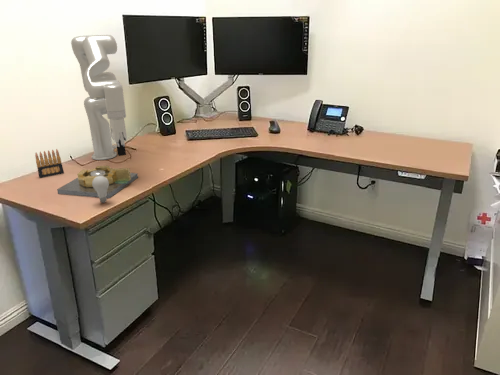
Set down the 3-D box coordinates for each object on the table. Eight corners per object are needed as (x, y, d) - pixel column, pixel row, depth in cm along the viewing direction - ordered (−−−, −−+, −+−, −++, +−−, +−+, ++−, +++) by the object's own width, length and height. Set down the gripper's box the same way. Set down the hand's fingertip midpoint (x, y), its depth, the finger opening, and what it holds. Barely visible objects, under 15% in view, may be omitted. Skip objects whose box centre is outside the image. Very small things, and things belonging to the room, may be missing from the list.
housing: (91, 174, 197) (89, 161, 194) (140, 177, 191) (138, 165, 188) (58, 193, 175) (55, 180, 173) (111, 198, 169) (109, 184, 167)
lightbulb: (113, 199, 169) (109, 173, 165) (109, 205, 163) (105, 178, 159) (98, 199, 169) (93, 173, 164) (93, 205, 163) (88, 179, 159)
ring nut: (135, 173, 189) (133, 163, 187) (125, 186, 175) (123, 175, 173) (88, 174, 190) (86, 163, 188) (74, 187, 175) (72, 176, 173)
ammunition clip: (39, 178, 193) (33, 153, 189) (38, 177, 195) (33, 152, 190) (64, 173, 198) (59, 149, 194) (63, 172, 200) (58, 148, 195)
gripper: (103, 110, 181) (109, 151, 189) (111, 119, 169) (117, 161, 177) (121, 108, 184) (126, 148, 192) (129, 116, 173) (134, 158, 180)
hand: (121, 154), depth 185 cm, fingers closed
